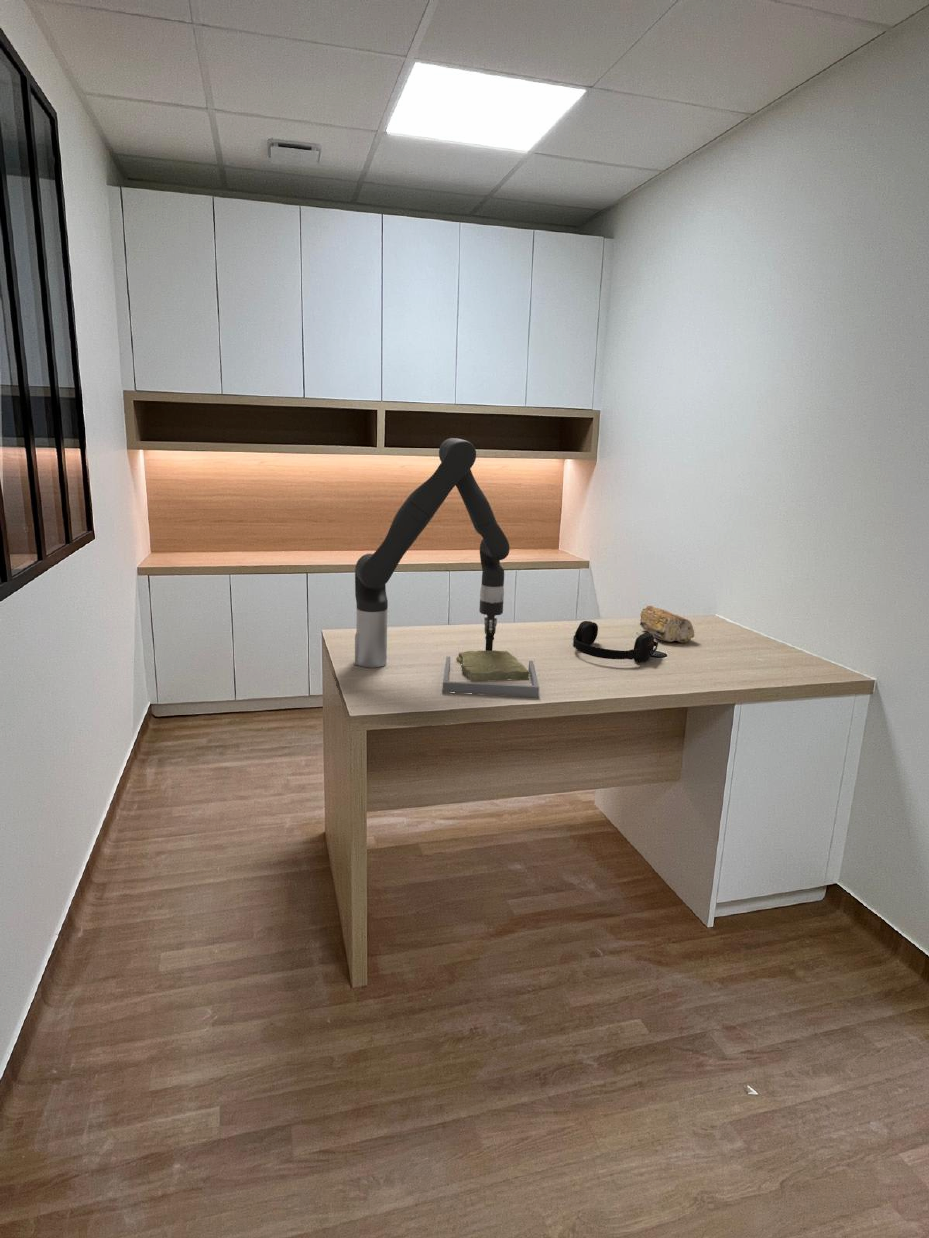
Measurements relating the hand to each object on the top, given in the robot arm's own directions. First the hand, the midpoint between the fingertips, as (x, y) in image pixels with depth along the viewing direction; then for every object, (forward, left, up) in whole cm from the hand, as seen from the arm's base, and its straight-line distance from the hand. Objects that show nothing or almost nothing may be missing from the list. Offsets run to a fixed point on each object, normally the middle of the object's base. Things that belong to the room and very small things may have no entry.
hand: (488, 650), depth 239 cm
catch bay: (0, -25, -1) cm, 25 cm away
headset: (+42, +8, -2) cm, 43 cm away
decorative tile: (0, -15, -2) cm, 15 cm away
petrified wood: (+64, +32, -2) cm, 72 cm away
